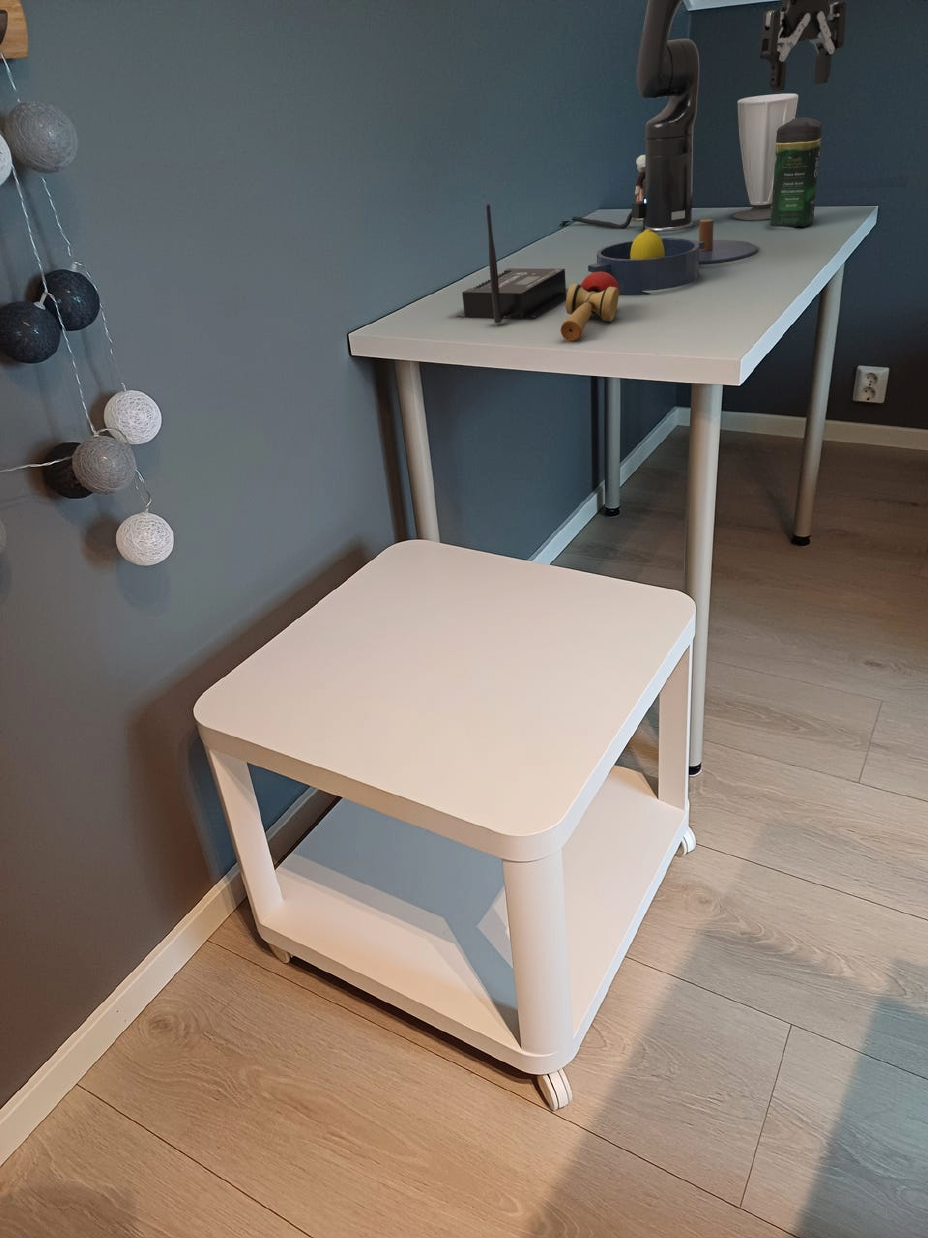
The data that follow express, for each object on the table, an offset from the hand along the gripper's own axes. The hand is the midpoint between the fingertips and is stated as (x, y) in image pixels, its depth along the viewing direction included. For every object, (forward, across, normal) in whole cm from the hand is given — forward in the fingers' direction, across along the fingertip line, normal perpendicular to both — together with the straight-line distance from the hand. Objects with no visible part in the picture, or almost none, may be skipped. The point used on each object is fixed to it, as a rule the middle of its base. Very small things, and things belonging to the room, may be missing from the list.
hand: (799, 86), depth 144 cm
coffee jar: (+26, -23, -24) cm, 43 cm away
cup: (+26, -27, -37) cm, 53 cm away
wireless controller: (+26, +46, -12) cm, 54 cm away
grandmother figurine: (+26, -12, -57) cm, 64 cm away
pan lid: (+25, +4, -15) cm, 30 cm away
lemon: (+26, +22, -8) cm, 35 cm away
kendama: (+26, +43, +6) cm, 51 cm away
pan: (+26, +22, -8) cm, 35 cm away
